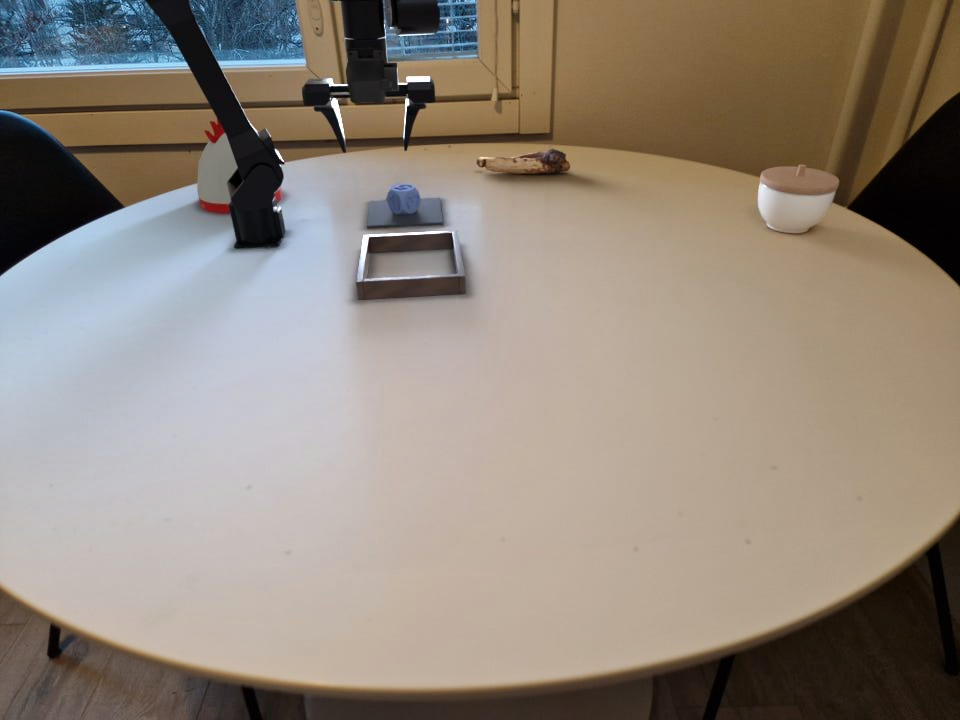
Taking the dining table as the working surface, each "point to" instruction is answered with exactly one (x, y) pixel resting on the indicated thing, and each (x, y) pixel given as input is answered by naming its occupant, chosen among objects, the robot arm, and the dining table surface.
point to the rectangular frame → (415, 283)
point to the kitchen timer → (217, 172)
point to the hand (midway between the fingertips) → (375, 151)
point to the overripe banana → (528, 163)
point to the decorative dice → (403, 199)
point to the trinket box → (795, 197)
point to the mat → (424, 215)
